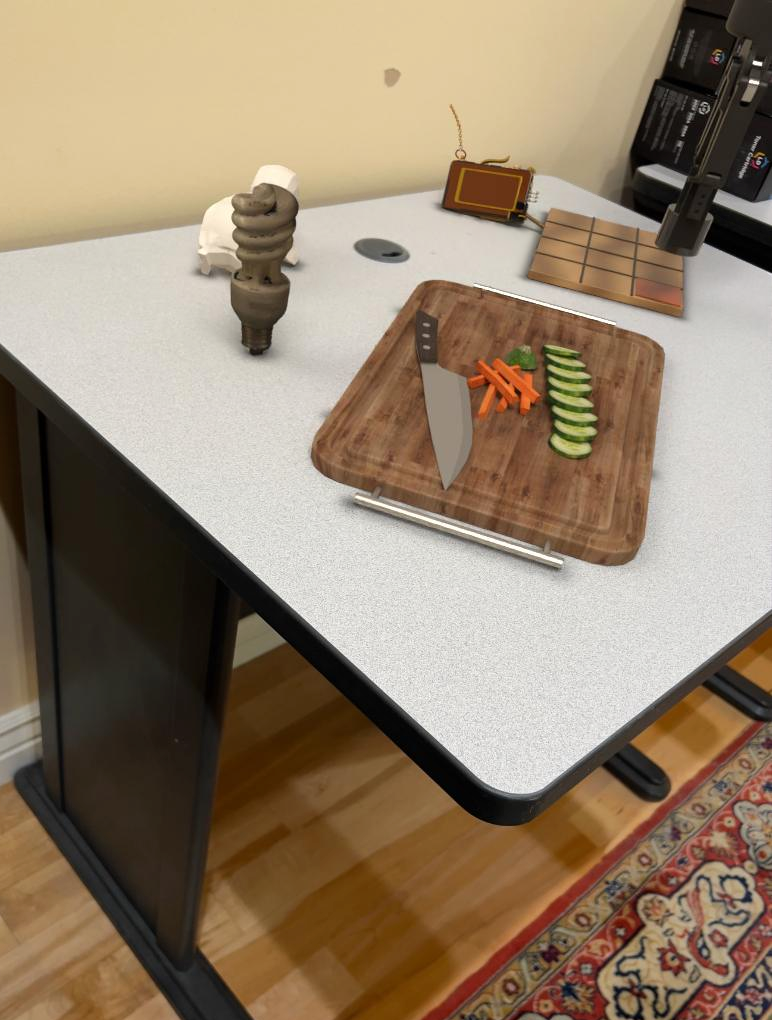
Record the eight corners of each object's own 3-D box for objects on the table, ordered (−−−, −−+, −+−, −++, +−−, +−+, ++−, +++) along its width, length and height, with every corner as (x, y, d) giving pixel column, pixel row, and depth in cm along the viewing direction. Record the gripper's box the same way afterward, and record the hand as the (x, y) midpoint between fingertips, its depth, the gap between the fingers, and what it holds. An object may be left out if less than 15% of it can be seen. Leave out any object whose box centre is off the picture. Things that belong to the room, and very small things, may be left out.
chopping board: (632, 597, 64) (649, 565, 62) (287, 486, 68) (291, 452, 66) (662, 343, 96) (674, 316, 94) (427, 278, 100) (433, 251, 98)
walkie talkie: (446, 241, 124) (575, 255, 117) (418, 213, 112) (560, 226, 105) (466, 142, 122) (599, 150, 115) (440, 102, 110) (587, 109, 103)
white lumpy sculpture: (265, 315, 95) (321, 224, 101) (259, 252, 87) (320, 157, 93) (193, 292, 96) (254, 204, 102) (182, 228, 89) (247, 137, 95)
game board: (679, 246, 120) (682, 238, 119) (679, 317, 102) (684, 307, 101) (548, 214, 122) (551, 205, 121) (527, 278, 104) (530, 268, 104)
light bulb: (234, 369, 80) (247, 197, 69) (213, 340, 83) (222, 172, 73) (291, 363, 82) (312, 196, 72) (268, 335, 85) (285, 171, 75)
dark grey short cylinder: (698, 246, 102) (713, 211, 99) (698, 261, 98) (713, 224, 96) (655, 235, 103) (669, 199, 100) (653, 249, 99) (667, 212, 96)
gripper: (737, -28, 91) (648, 204, 107) (747, -5, 78) (644, 256, 94) (811, -12, 90) (710, 220, 106) (834, 14, 77) (715, 274, 93)
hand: (679, 236), depth 100 cm, fingers closed on dark grey short cylinder, 5 cm apart
